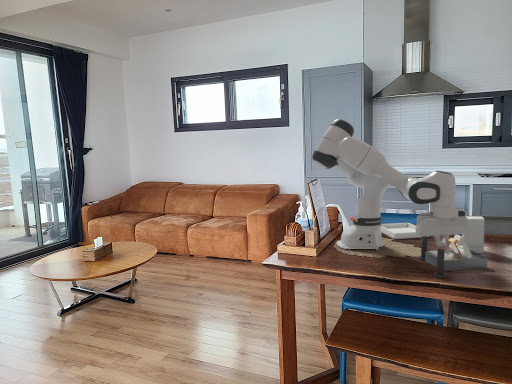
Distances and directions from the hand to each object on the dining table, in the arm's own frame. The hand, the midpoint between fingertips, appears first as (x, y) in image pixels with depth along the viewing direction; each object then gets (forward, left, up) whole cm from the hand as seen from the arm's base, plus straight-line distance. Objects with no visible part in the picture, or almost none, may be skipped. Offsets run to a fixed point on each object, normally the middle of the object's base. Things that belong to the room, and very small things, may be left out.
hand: (441, 245), depth 147 cm
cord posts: (-4, -1, -8) cm, 9 cm away
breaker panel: (+6, 0, -8) cm, 10 cm away
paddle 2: (+8, -5, -4) cm, 10 cm away
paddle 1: (+8, +5, -4) cm, 10 cm away
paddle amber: (+8, 0, -4) cm, 9 cm away
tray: (+10, +53, -8) cm, 55 cm away
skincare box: (+24, +15, -8) cm, 30 cm away
